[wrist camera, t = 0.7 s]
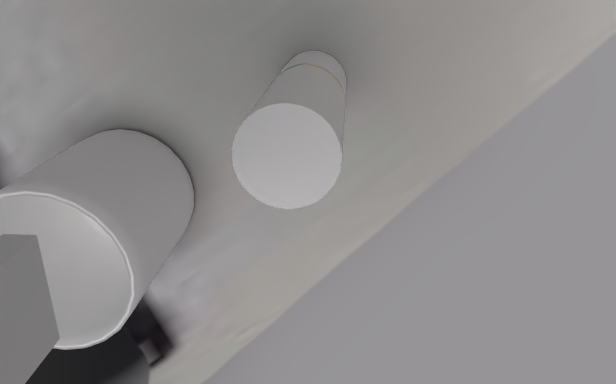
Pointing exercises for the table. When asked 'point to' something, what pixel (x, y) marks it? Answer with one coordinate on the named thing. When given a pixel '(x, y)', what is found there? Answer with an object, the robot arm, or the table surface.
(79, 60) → the table surface
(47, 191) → the mug
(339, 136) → the tube
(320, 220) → the table surface
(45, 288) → the robot arm
